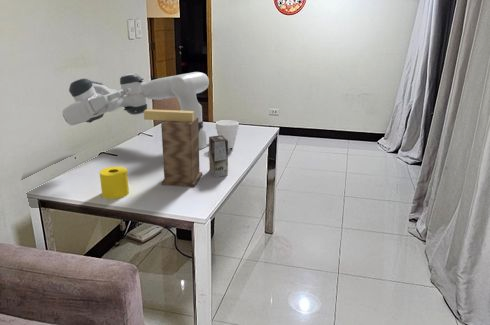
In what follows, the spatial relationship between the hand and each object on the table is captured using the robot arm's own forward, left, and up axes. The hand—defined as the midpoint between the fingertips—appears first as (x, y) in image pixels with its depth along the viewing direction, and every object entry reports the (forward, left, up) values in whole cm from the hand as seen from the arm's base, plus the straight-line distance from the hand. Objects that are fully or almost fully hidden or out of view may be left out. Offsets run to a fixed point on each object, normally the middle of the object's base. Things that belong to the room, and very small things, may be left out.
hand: (125, 91), depth 165 cm
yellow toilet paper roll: (+19, -9, -37) cm, 42 cm away
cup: (-23, +53, -37) cm, 68 cm away
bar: (+11, +15, -10) cm, 22 cm away
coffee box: (+11, +36, -37) cm, 53 cm away
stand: (+14, +19, -36) cm, 43 cm away
